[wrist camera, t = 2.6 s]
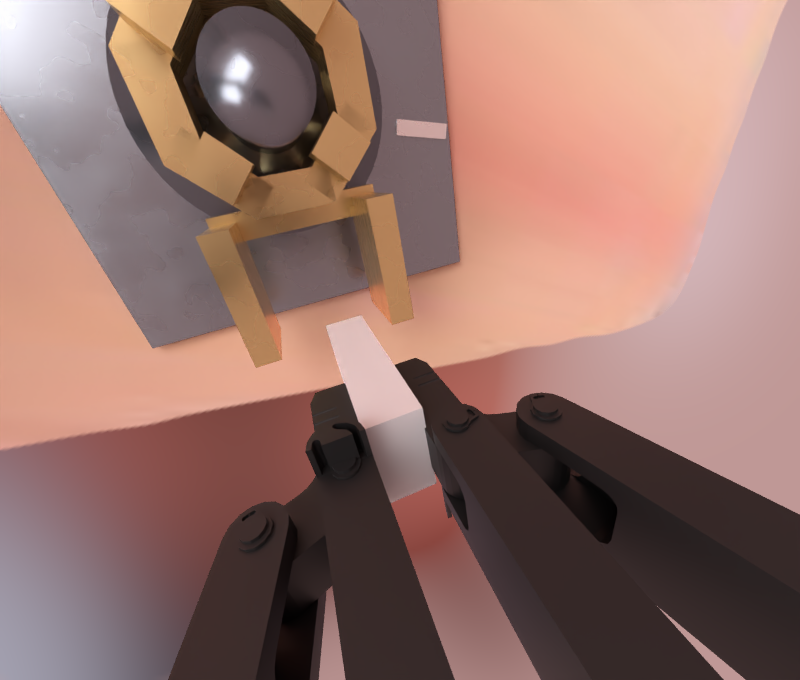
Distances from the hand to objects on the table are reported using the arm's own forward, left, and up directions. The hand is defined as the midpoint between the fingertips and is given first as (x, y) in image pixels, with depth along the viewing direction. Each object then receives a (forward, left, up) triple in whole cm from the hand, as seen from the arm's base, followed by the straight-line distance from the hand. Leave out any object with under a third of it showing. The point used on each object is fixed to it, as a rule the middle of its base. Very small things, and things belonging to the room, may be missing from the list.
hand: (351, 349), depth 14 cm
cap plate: (0, +11, -15) cm, 19 cm away
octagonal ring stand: (0, +7, -11) cm, 13 cm away
